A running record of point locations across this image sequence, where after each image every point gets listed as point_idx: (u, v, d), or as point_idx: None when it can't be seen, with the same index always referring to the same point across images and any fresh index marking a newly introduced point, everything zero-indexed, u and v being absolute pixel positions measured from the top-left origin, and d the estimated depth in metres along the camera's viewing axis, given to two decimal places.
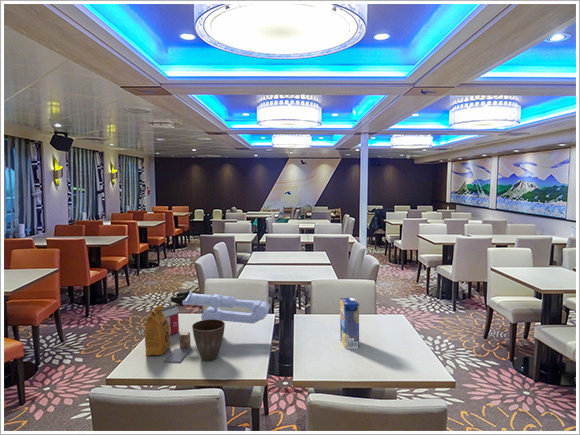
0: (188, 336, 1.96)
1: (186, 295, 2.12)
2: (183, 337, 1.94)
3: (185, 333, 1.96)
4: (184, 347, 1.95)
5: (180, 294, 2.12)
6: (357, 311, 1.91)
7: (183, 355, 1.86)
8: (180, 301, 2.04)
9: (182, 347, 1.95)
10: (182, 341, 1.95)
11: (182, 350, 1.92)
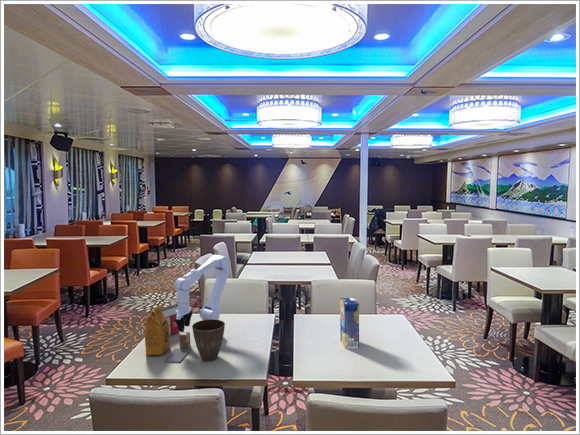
0: (188, 336, 1.96)
1: (185, 315, 1.99)
2: (183, 337, 1.94)
3: (185, 333, 1.96)
4: (184, 347, 1.95)
5: (185, 322, 1.99)
6: (357, 311, 1.91)
7: (183, 355, 1.86)
8: (181, 321, 1.91)
9: (182, 347, 1.95)
10: (182, 341, 1.95)
11: (182, 350, 1.92)
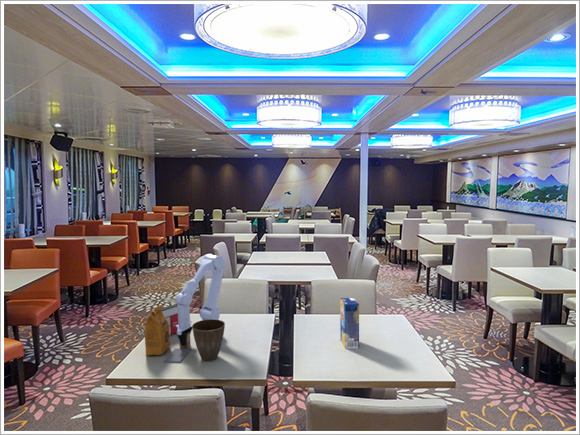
0: (188, 336, 1.96)
1: (185, 331, 1.98)
2: None
3: None
4: (184, 347, 1.95)
5: None
6: (357, 311, 1.91)
7: (183, 355, 1.86)
8: (183, 335, 1.93)
9: (182, 347, 1.95)
10: None
11: (182, 350, 1.92)
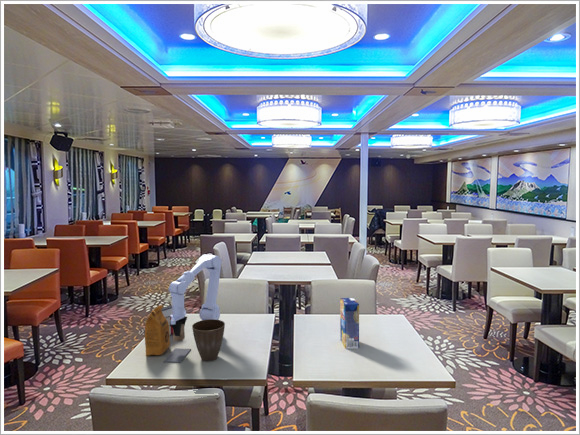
0: (182, 328, 1.89)
1: (179, 321, 1.91)
2: None
3: None
4: (178, 339, 1.88)
5: None
6: (357, 311, 1.91)
7: (183, 355, 1.86)
8: (177, 325, 1.86)
9: (176, 339, 1.88)
10: None
11: (182, 350, 1.92)
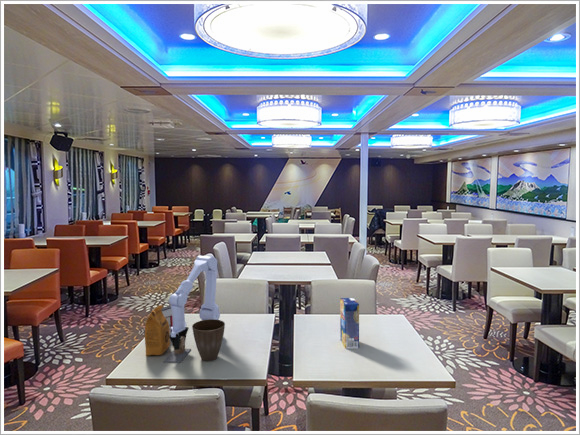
0: (183, 341, 1.89)
1: (181, 332, 1.93)
2: None
3: None
4: (178, 352, 1.88)
5: None
6: (357, 311, 1.91)
7: (183, 355, 1.86)
8: (176, 339, 1.85)
9: (176, 352, 1.88)
10: None
11: None
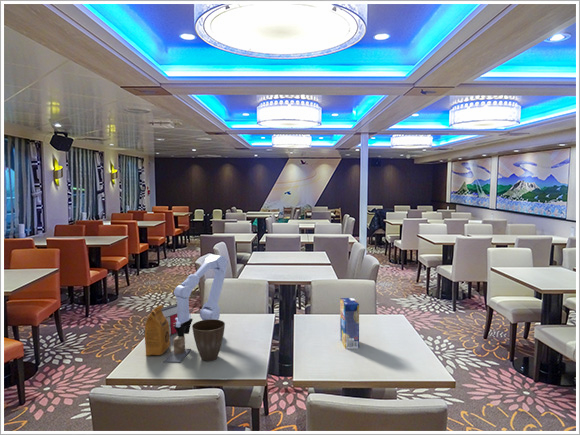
0: (183, 341, 1.89)
1: (185, 323, 1.99)
2: (177, 341, 1.87)
3: (179, 337, 1.89)
4: (178, 352, 1.88)
5: (184, 329, 1.99)
6: (357, 311, 1.91)
7: (183, 355, 1.86)
8: (181, 329, 1.91)
9: (176, 352, 1.88)
10: (177, 346, 1.88)
11: None
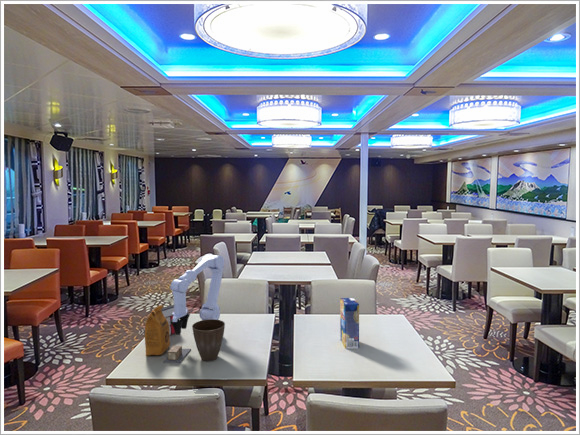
0: (177, 354, 1.82)
1: (182, 317, 1.95)
2: None
3: (172, 356, 1.81)
4: None
5: (182, 324, 1.95)
6: (357, 311, 1.91)
7: (183, 355, 1.86)
8: (178, 324, 1.87)
9: None
10: None
11: (182, 350, 1.92)
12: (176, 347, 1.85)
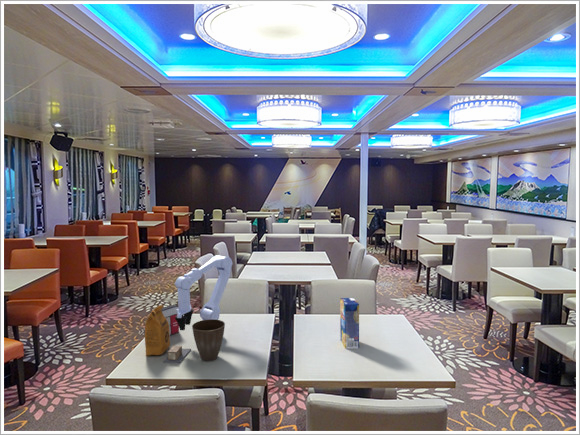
0: (177, 354, 1.82)
1: (186, 314, 2.00)
2: None
3: (172, 356, 1.81)
4: None
5: (186, 320, 2.00)
6: (357, 311, 1.91)
7: (183, 355, 1.86)
8: (182, 320, 1.92)
9: None
10: None
11: (182, 350, 1.92)
12: (176, 347, 1.85)
